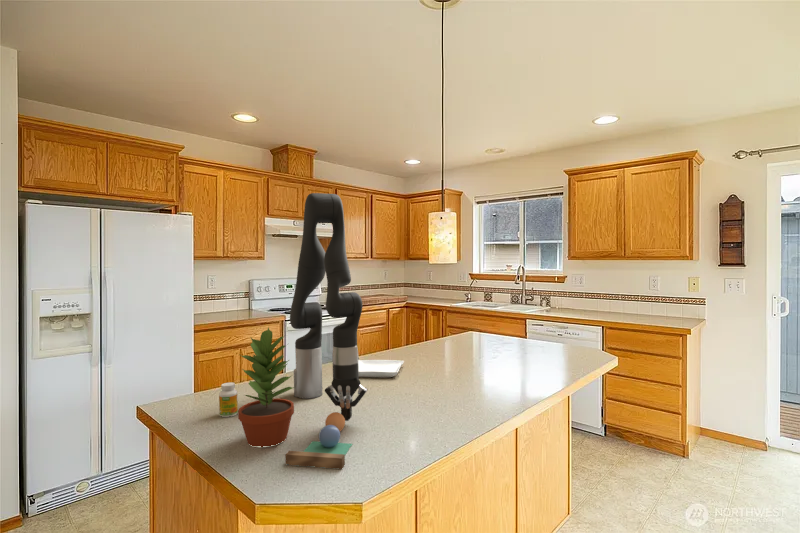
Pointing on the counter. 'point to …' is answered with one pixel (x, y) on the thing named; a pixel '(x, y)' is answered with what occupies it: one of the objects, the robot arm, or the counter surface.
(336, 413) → the orange ball
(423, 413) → the counter surface
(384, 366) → the salad plate
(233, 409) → the supplement bottle
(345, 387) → the robot arm
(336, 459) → the stopper wall
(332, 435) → the object ball
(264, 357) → the potted plant
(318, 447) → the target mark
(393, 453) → the counter surface
